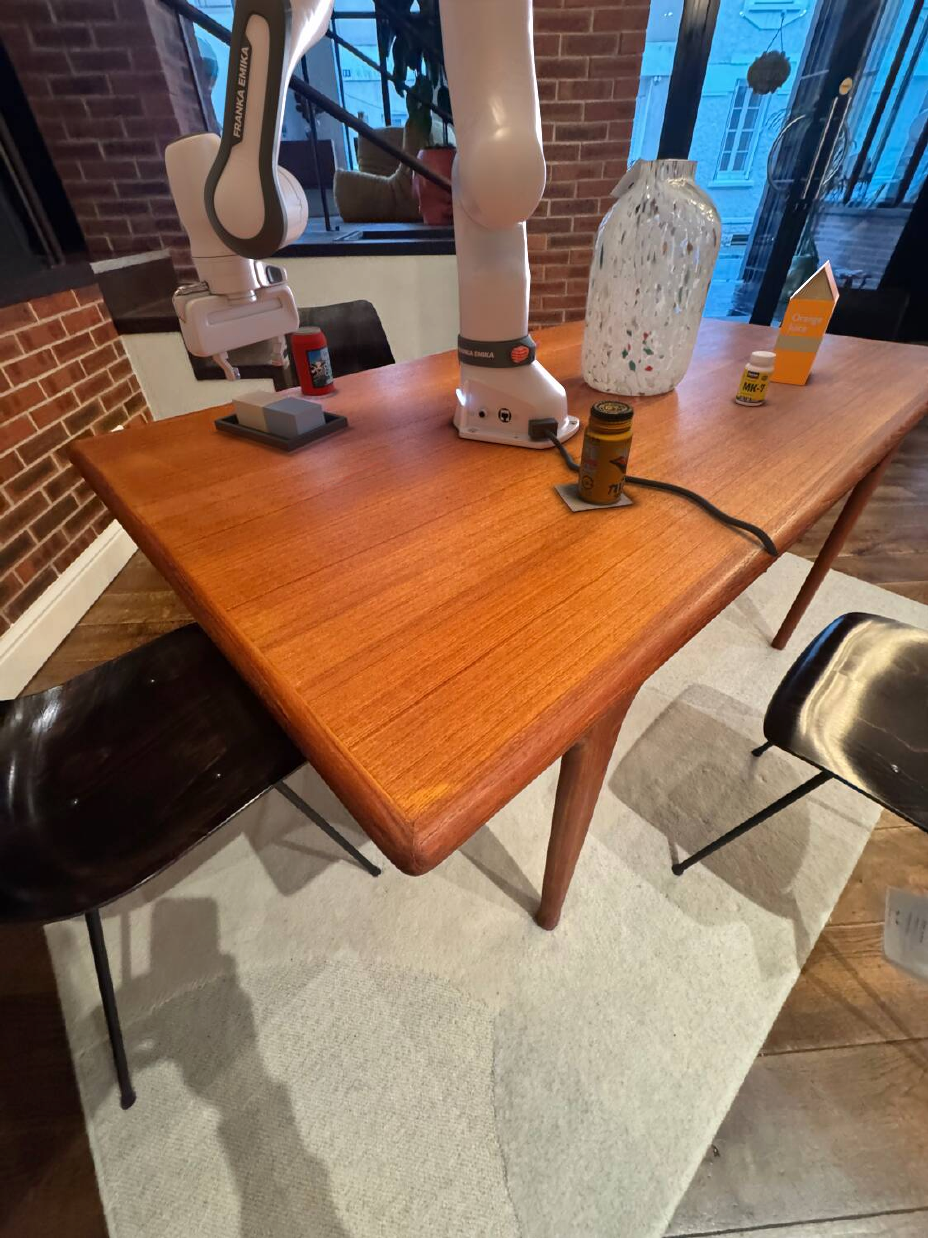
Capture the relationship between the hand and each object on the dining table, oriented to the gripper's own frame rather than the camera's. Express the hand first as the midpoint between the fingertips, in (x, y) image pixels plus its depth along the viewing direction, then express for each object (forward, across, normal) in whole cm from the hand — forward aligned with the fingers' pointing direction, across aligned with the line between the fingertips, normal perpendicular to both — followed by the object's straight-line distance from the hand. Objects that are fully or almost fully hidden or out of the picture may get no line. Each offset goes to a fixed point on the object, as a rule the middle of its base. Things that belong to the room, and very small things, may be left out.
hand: (257, 372), depth 90 cm
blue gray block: (+9, 0, -8) cm, 12 cm away
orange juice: (+12, +76, -72) cm, 105 cm away
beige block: (+9, -1, +1) cm, 9 cm away
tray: (+9, 0, -3) cm, 10 cm away
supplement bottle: (+12, +56, -69) cm, 90 cm away
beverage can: (+10, +17, +7) cm, 21 cm away
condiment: (+11, +6, -60) cm, 62 cm away
